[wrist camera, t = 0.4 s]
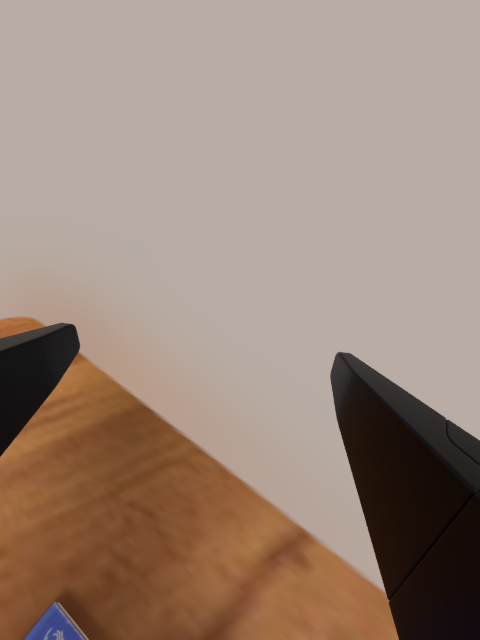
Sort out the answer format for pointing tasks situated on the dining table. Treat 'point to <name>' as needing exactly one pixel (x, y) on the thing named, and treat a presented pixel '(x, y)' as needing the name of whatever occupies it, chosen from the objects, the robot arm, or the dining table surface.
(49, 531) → the dining table surface
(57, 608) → the hard drive
